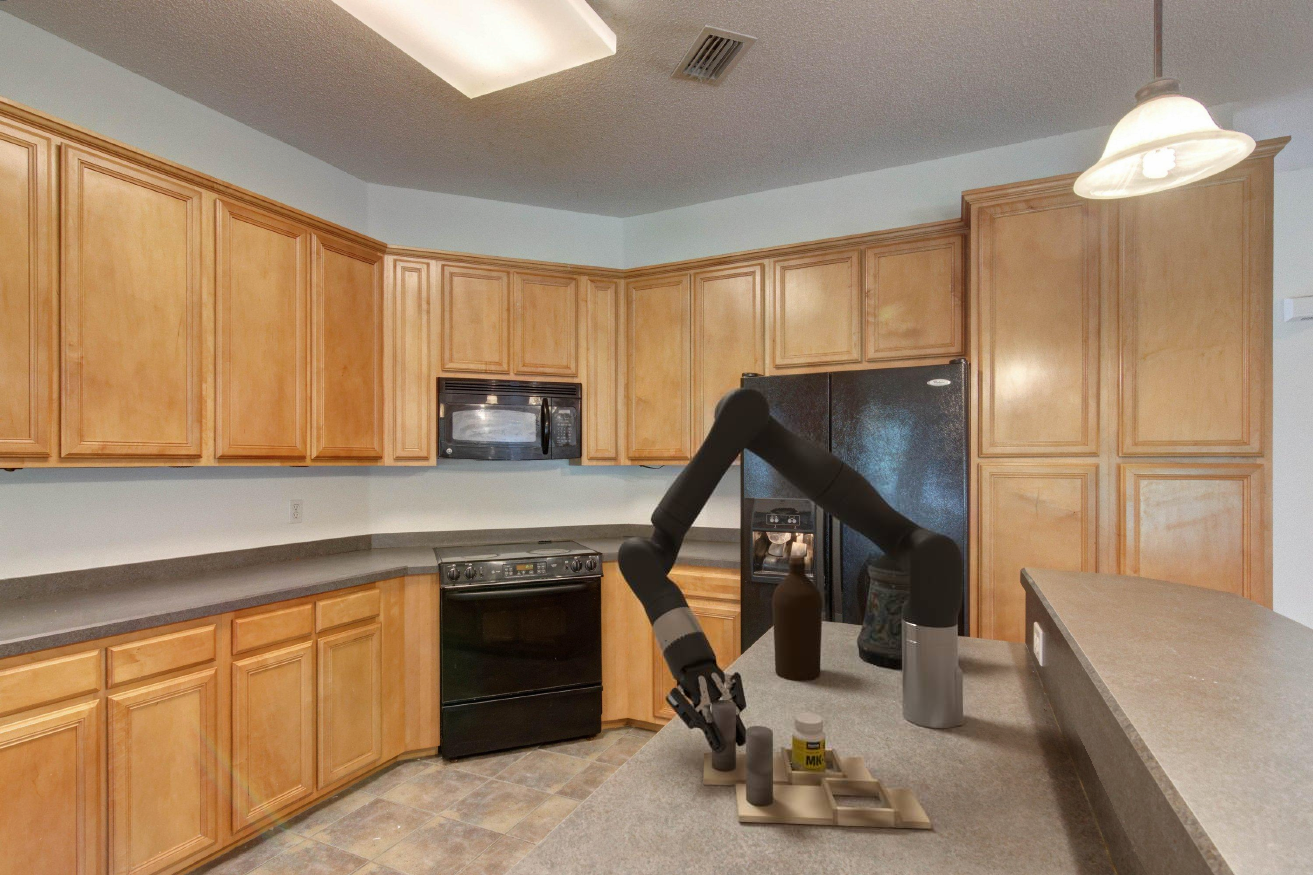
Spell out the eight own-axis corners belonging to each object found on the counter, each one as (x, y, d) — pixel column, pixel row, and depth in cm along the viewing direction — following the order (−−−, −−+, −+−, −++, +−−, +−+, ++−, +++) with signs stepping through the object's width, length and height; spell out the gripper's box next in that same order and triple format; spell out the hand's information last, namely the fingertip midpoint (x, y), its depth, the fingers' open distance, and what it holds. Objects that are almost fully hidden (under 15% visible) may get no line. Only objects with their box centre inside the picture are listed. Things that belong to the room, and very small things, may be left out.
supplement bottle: (806, 786, 92) (806, 726, 92) (785, 771, 96) (785, 714, 97) (832, 778, 94) (832, 720, 95) (810, 764, 99) (810, 709, 99)
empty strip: (910, 794, 90) (909, 723, 90) (930, 828, 82) (930, 749, 82) (735, 788, 91) (735, 718, 91) (738, 821, 83) (738, 744, 83)
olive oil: (784, 684, 133) (784, 561, 133) (764, 667, 143) (764, 553, 144) (832, 680, 135) (831, 559, 136) (809, 663, 145) (808, 551, 146)
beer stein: (842, 651, 154) (842, 546, 155) (911, 644, 160) (910, 542, 161) (887, 674, 138) (886, 556, 139) (961, 665, 144) (960, 552, 145)
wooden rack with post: (861, 762, 99) (860, 697, 99) (875, 789, 91) (874, 719, 91) (703, 757, 100) (703, 693, 101) (703, 784, 92) (703, 714, 93)
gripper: (656, 637, 99) (706, 748, 89) (727, 623, 107) (780, 723, 96) (637, 663, 103) (683, 771, 93) (707, 647, 111) (756, 746, 101)
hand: (732, 746), depth 95 cm, fingers closed on wooden rack with post, 3 cm apart
